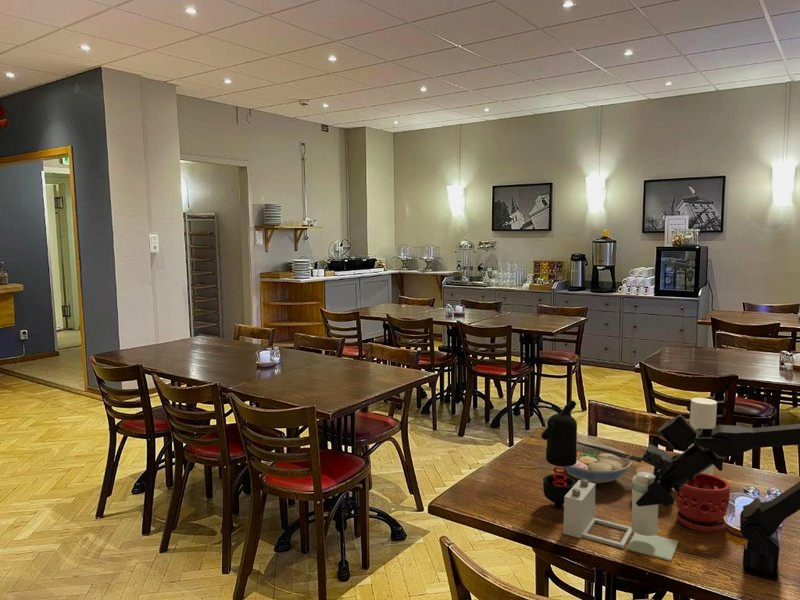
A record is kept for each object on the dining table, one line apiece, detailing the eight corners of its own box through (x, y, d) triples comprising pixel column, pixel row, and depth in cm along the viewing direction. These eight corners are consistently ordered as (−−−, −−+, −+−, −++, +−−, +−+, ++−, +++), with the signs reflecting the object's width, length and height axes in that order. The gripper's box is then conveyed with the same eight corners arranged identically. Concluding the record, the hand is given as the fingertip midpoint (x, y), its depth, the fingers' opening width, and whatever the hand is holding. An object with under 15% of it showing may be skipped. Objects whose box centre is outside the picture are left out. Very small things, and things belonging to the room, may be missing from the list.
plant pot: (738, 527, 159) (741, 483, 157) (707, 540, 152) (709, 494, 151) (692, 507, 170) (695, 466, 168) (661, 518, 163) (664, 476, 162)
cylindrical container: (717, 481, 187) (722, 402, 184) (700, 485, 184) (704, 405, 181) (698, 472, 193) (702, 396, 190) (681, 476, 191) (685, 399, 188)
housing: (634, 529, 158) (635, 488, 156) (622, 550, 148) (624, 506, 146) (577, 514, 166) (578, 475, 164) (563, 533, 156) (564, 491, 155)
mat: (678, 542, 151) (678, 541, 151) (671, 561, 143) (671, 559, 143) (636, 531, 156) (636, 530, 156) (626, 549, 148) (626, 547, 148)
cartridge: (660, 527, 151) (661, 473, 150) (655, 538, 146) (656, 482, 145) (634, 521, 155) (635, 469, 153) (628, 531, 150) (629, 477, 148)
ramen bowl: (537, 477, 191) (537, 452, 190) (577, 458, 206) (578, 435, 205) (610, 503, 172) (611, 476, 171) (648, 481, 188) (649, 455, 187)
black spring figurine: (558, 495, 178) (560, 396, 174) (584, 506, 171) (587, 403, 167) (527, 508, 170) (529, 404, 166) (553, 520, 163) (556, 412, 159)
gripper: (668, 426, 154) (622, 460, 161) (658, 449, 138) (607, 487, 145) (702, 461, 151) (654, 495, 158) (695, 489, 135) (642, 525, 142)
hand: (639, 499), depth 150 cm, fingers closed on cartridge, 6 cm apart
